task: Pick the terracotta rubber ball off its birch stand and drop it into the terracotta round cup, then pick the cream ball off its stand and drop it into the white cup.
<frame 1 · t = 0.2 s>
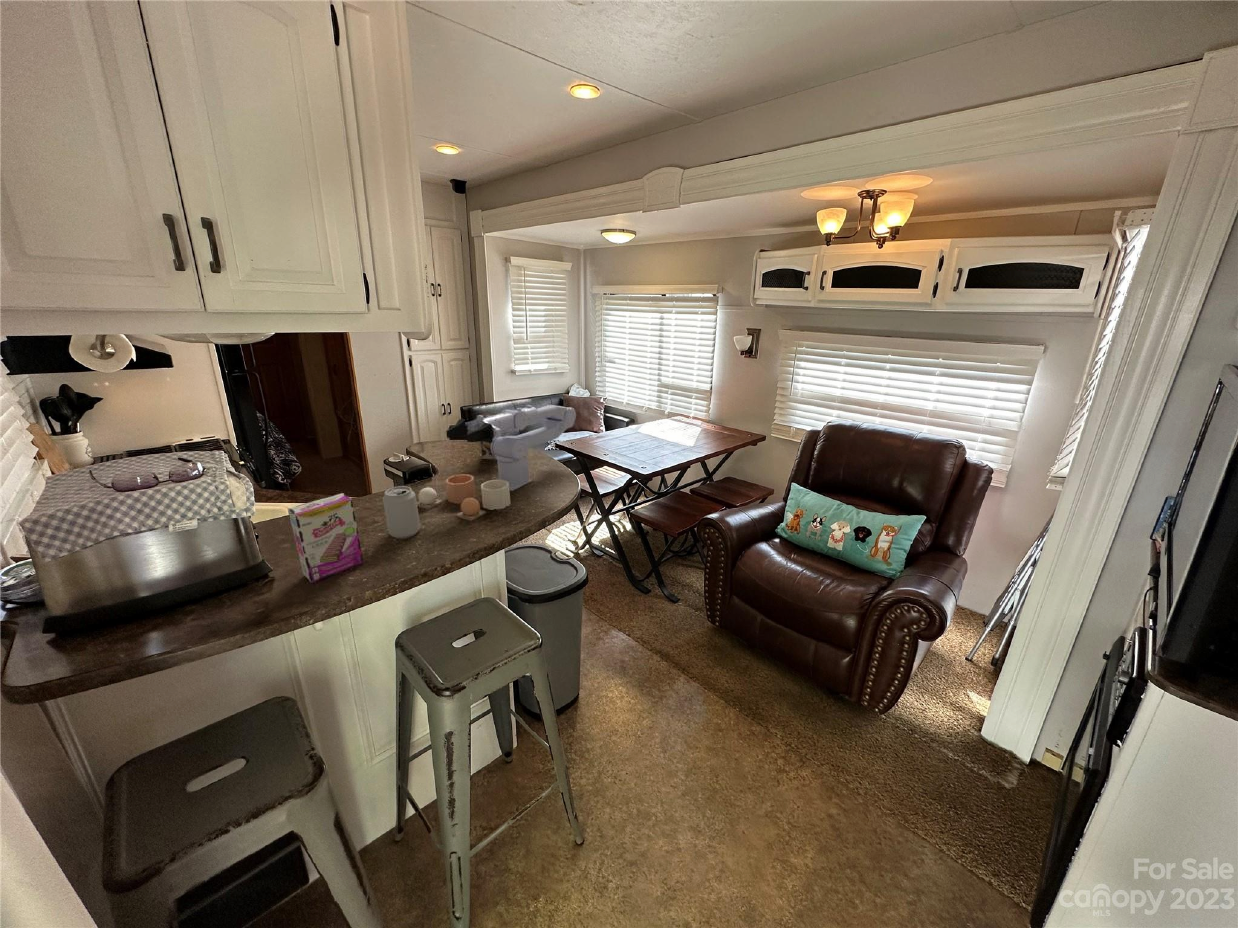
hand: (457, 436, 130), 21 cm above the countertop, tool horizontal, fingers open, 7 cm apart
terracotta ball: (470, 506, 132), point 2 cm above the countertop
cream ball: (427, 496, 138), point 2 cm above the countertop
can: (405, 533, 123), on the countertop
candy bar box: (335, 570, 107), on the countertop
stand a: (471, 514, 133), on the countertop
coffee box: (496, 457, 178), on the countertop
terracotta round cup: (462, 497, 144), on the countertop
white cup: (496, 503, 140), on the countertop
stand b: (428, 503, 139), on the countertop
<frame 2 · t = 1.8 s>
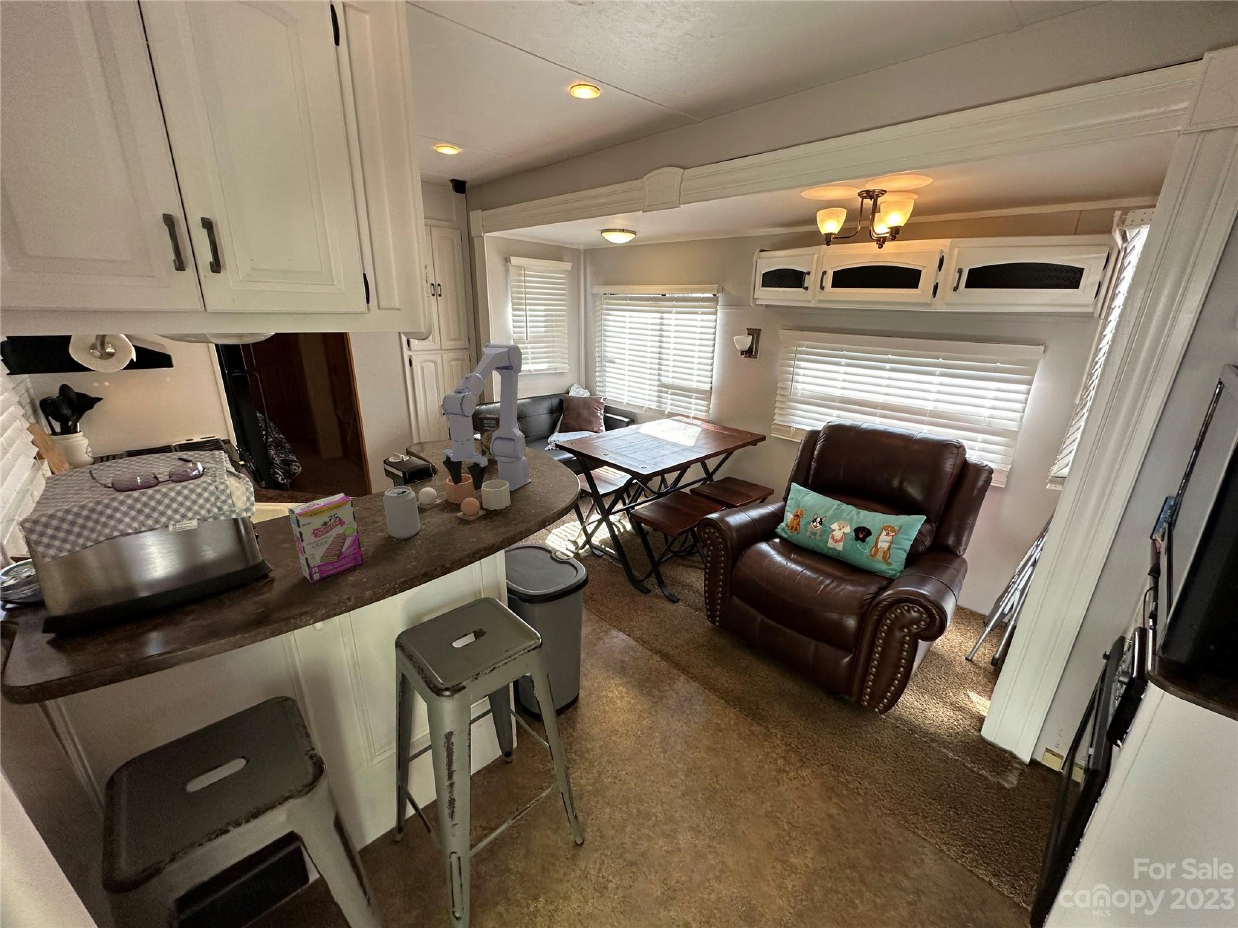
hand: (467, 486, 130), 9 cm above the countertop, tool pointing down, fingers open, 7 cm apart
nothing on the countertop moved.
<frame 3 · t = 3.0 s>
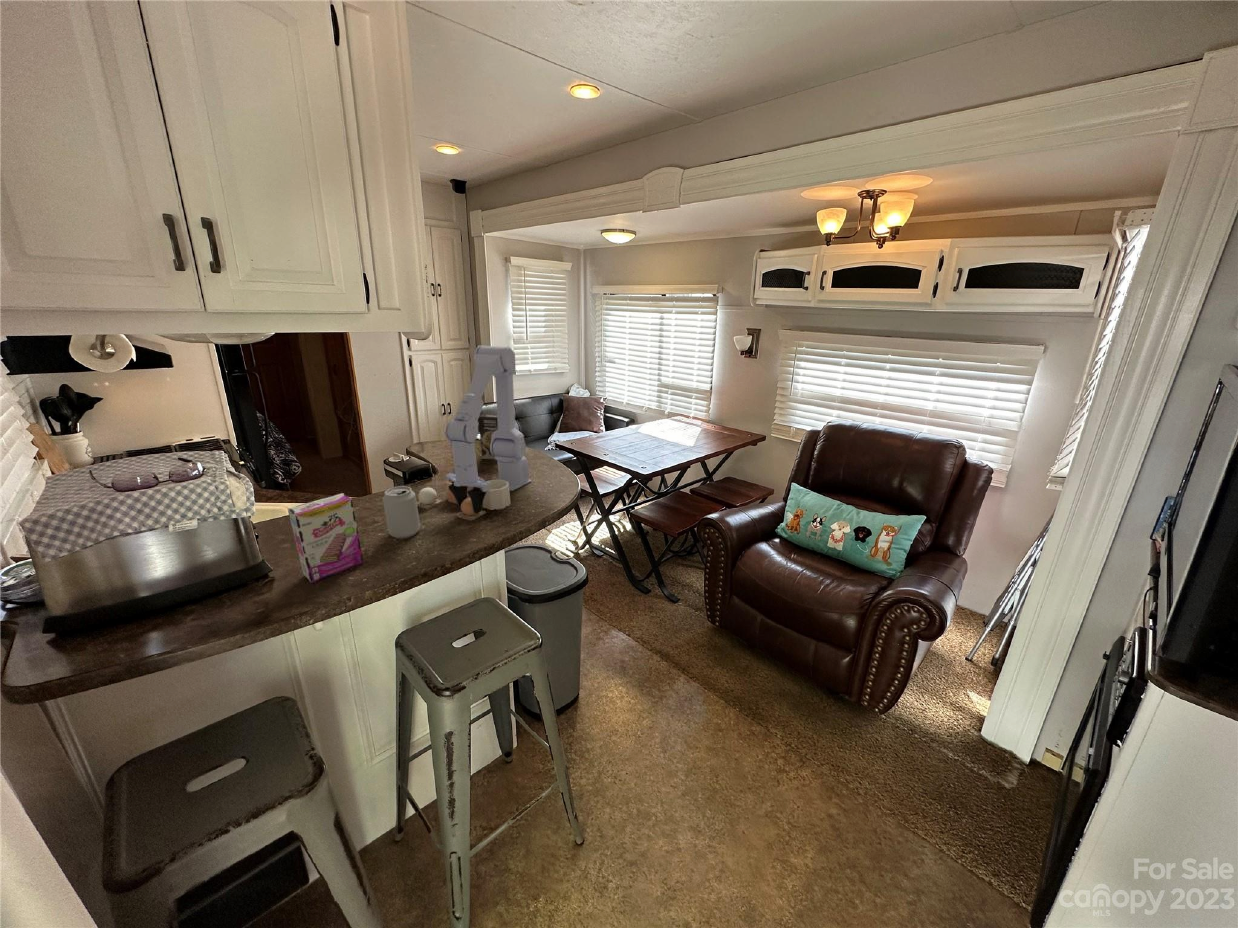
hand: (470, 509, 132), 2 cm above the countertop, tool pointing down, fingers closed on terracotta ball, 5 cm apart
terracotta ball: (470, 506, 132), point 2 cm above the countertop, touching gripper
everything else where it was.
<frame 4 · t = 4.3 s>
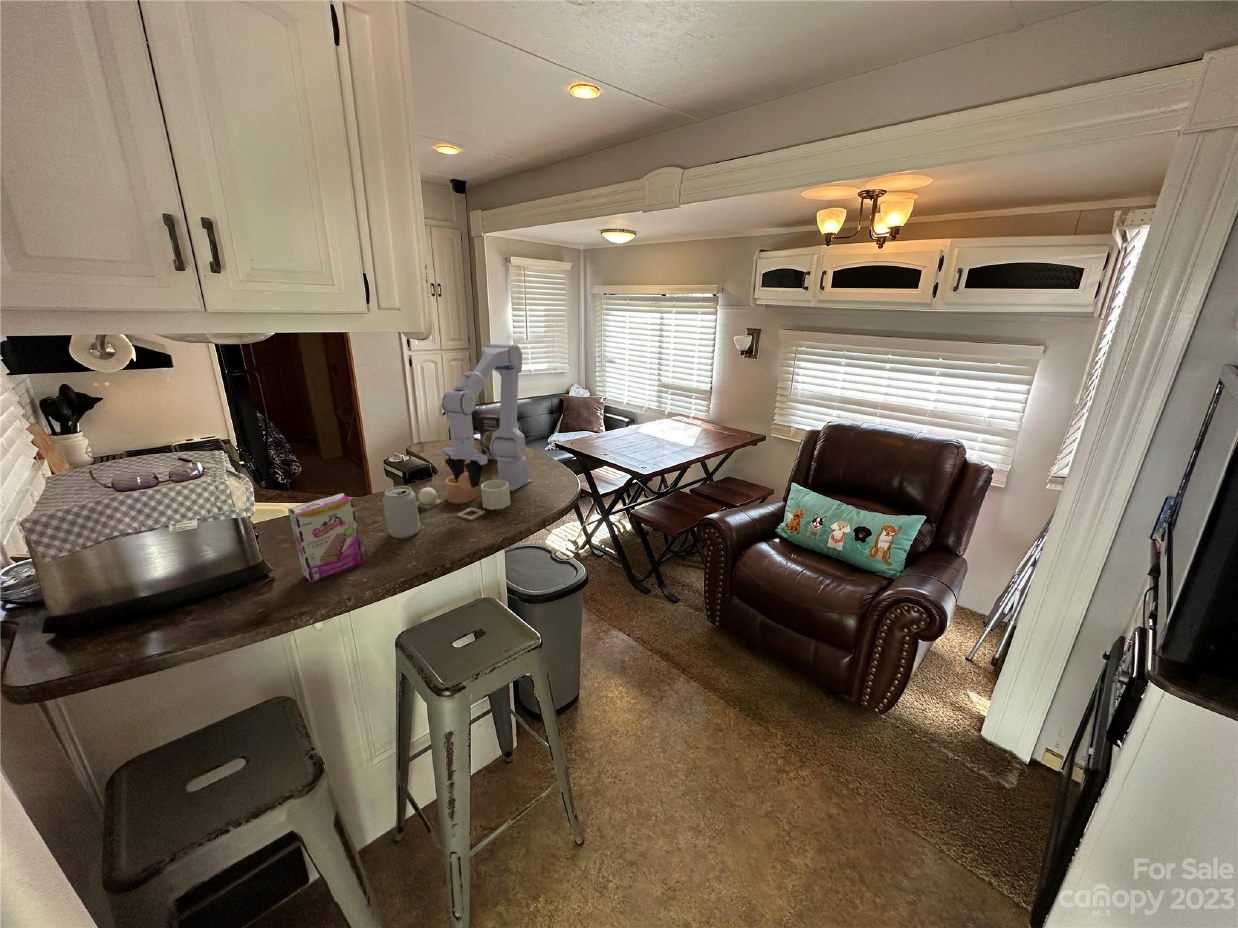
hand: (467, 484, 130), 9 cm above the countertop, tool pointing down, fingers closed on terracotta ball, 5 cm apart
terracotta ball: (467, 481, 129), point 10 cm above the countertop, touching gripper
everything else where it was.
when the fingers open (10 cm above the countertop, at t = 5.9 s): terracotta ball drops 7 cm, resting on terracotta round cup.
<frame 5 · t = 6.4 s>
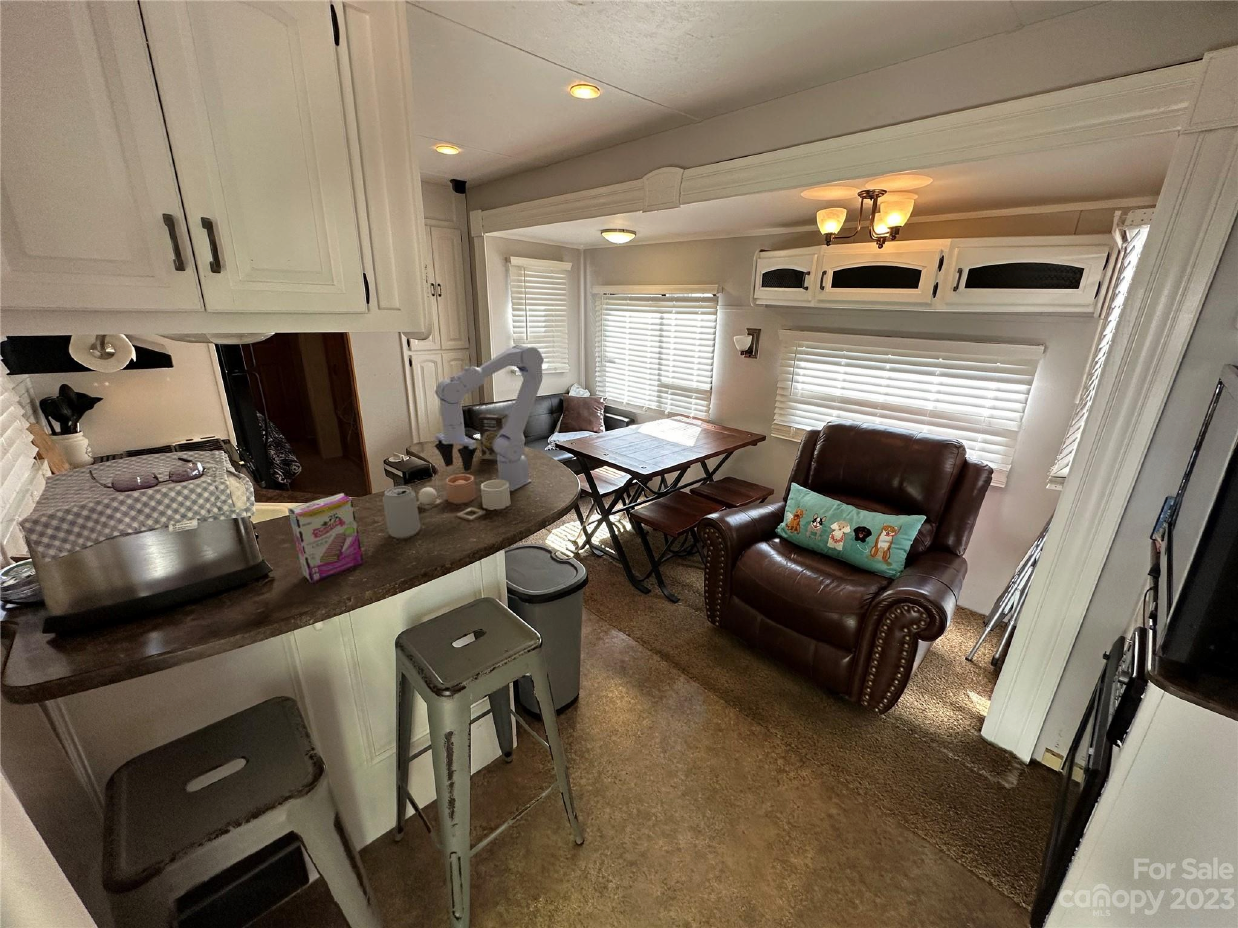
hand: (458, 467, 140), 10 cm above the countertop, tool pointing down, fingers open, 7 cm apart
terracotta ball: (460, 488, 143), point 3 cm above the countertop, touching terracotta round cup
everything else where it was.
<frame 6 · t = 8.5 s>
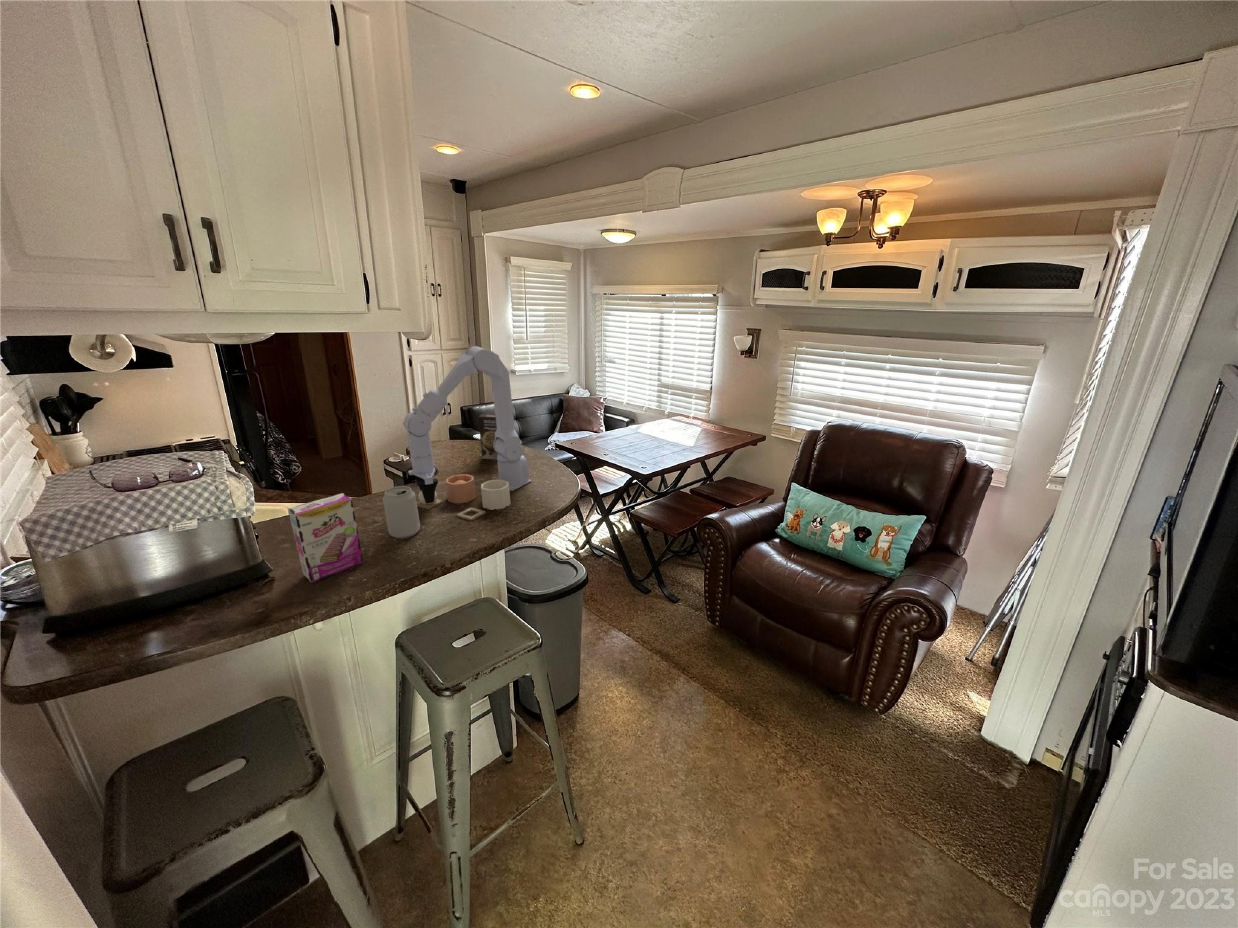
hand: (428, 498, 139), 2 cm above the countertop, tool pointing down, fingers closed on cream ball, 5 cm apart
cream ball: (427, 496, 138), point 2 cm above the countertop, touching gripper
everything else where it was.
when the fingers open (10 cm above the countertop, at t = 12.0 s): cream ball drops 7 cm, resting on white cup.
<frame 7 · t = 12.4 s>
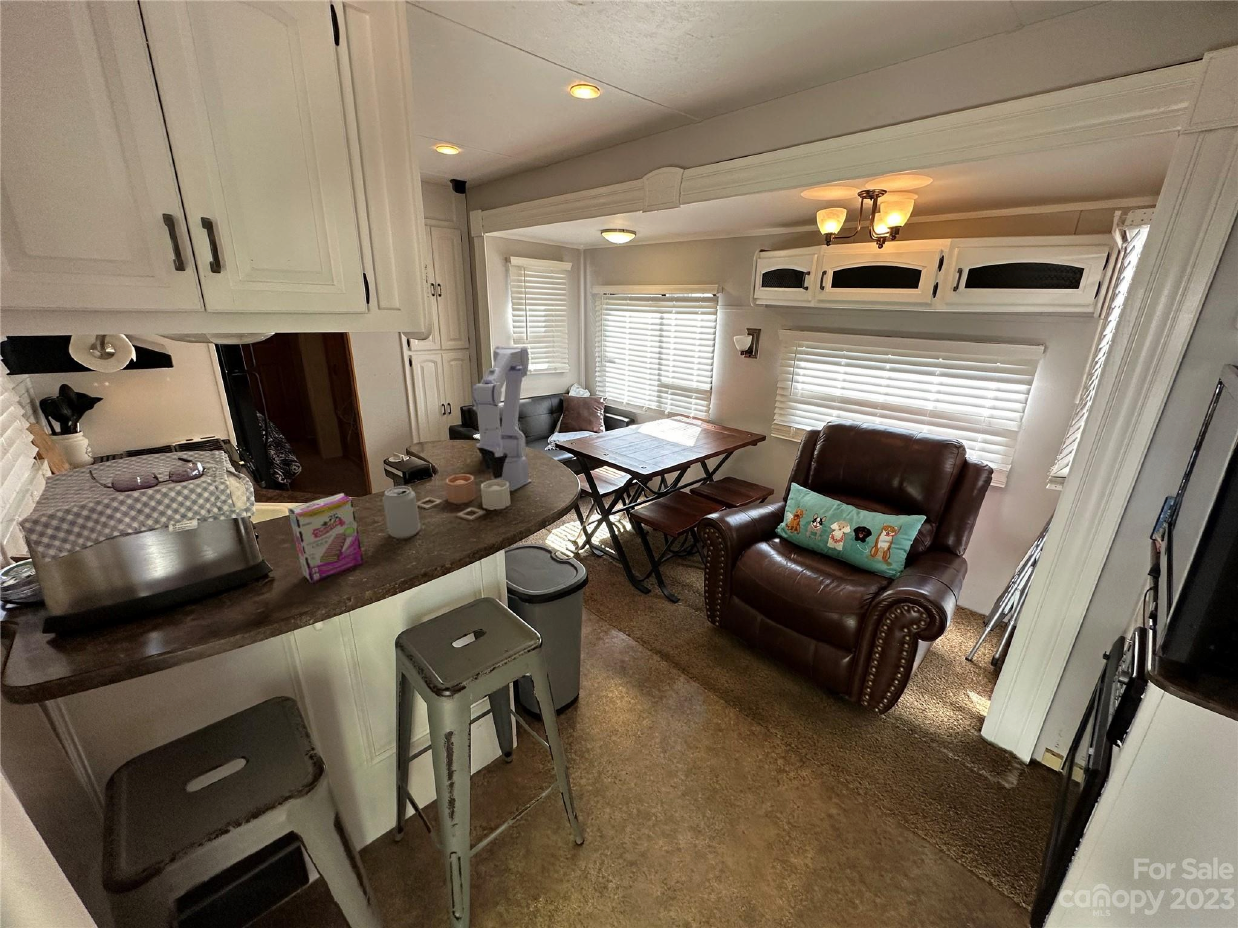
hand: (493, 473, 136), 10 cm above the countertop, tool pointing down, fingers open, 7 cm apart
cream ball: (495, 494, 139), point 3 cm above the countertop, touching white cup
everything else where it was.
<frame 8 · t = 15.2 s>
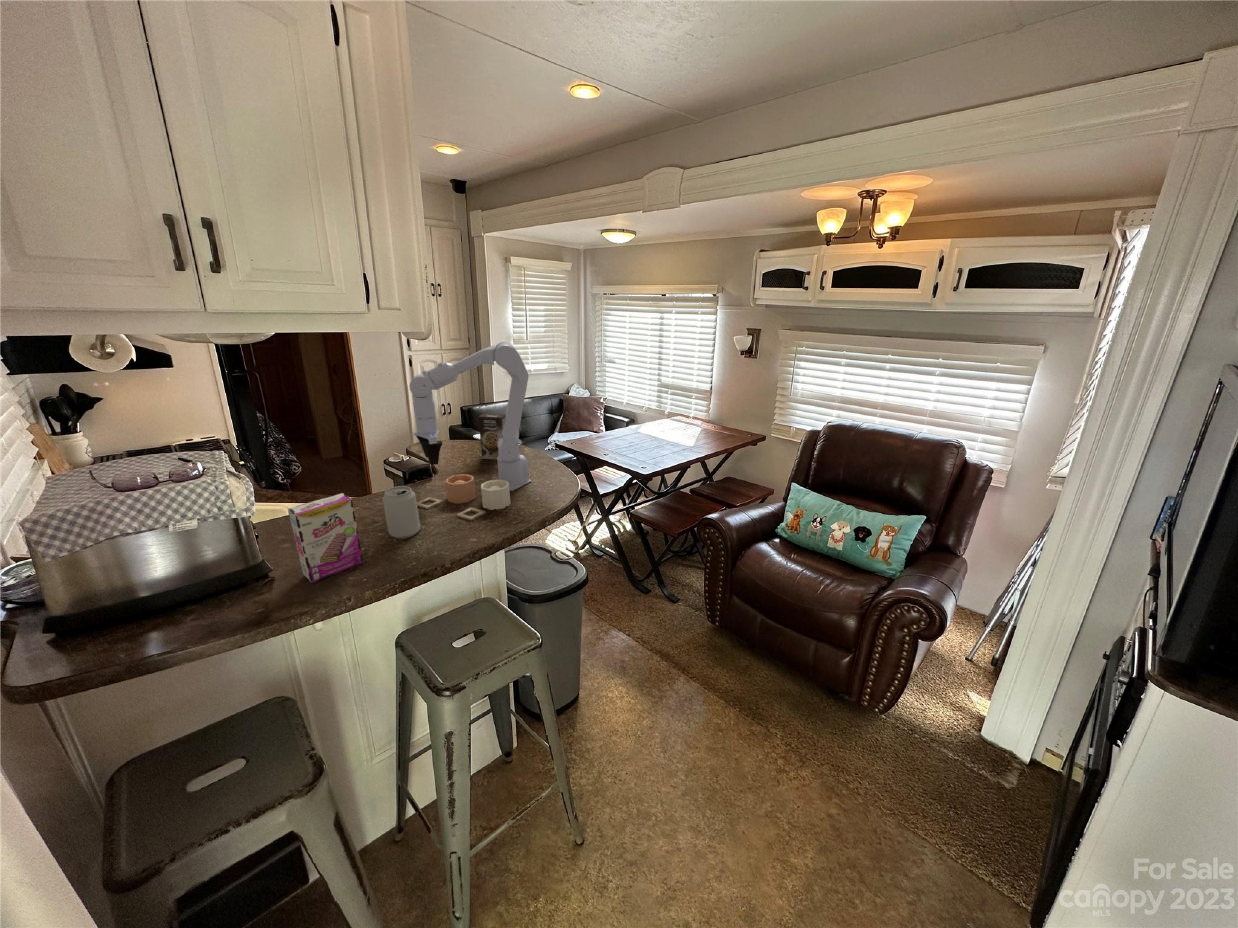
hand: (431, 460, 144), 10 cm above the countertop, tool pointing down, fingers open, 7 cm apart
nothing on the countertop moved.
at the end: terracotta ball 0.3 cm off-centre on the terracotta round cup, point 3.0 cm above the terracotta round cup's base; cream ball 0.1 cm off-centre on the white cup, point 3.0 cm above the white cup's base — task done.
